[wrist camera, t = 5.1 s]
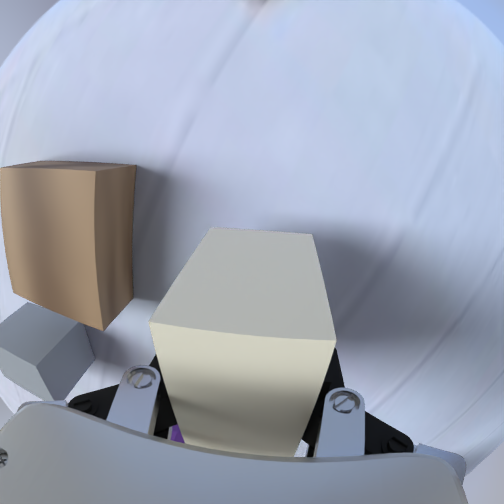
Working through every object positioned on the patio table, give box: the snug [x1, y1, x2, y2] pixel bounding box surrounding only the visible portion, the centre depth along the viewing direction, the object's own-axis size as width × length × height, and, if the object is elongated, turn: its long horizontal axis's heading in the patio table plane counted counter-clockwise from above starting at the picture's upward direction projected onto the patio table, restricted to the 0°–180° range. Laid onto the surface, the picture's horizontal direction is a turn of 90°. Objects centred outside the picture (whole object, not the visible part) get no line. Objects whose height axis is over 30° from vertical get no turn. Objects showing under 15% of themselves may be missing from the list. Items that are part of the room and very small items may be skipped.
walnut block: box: [0, 161, 136, 331], centre depth 13 cm, size 8×8×4 cm
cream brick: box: [149, 227, 337, 457], centre depth 10 cm, size 7×4×6 cm, turn 177°
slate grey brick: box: [0, 302, 95, 401], centre depth 15 cm, size 7×4×6 cm, turn 87°
